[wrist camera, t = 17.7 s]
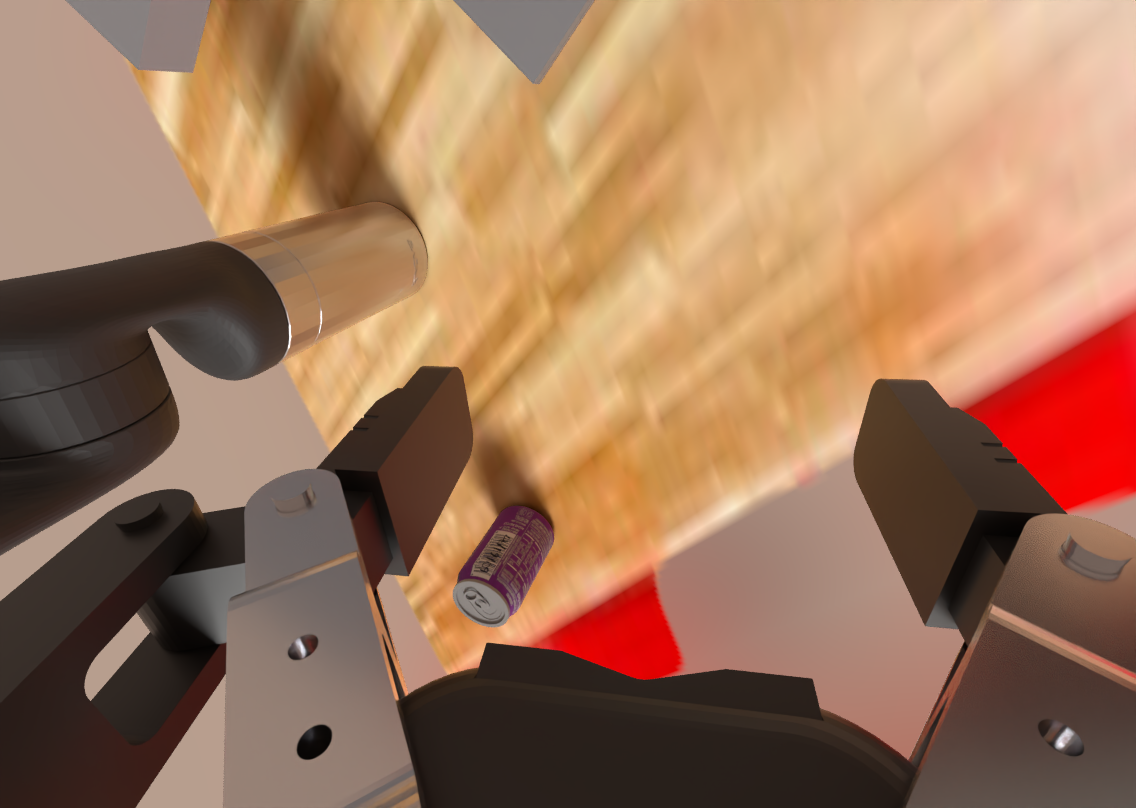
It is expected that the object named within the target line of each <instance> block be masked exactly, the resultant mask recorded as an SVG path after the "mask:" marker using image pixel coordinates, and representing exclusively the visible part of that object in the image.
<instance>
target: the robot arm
mask: <svg viewBox="0 0 1136 808" xmlns="http://www.w3.org/2000/svg"><path fill="white" fill-rule="evenodd" d="M427 269H428V258H427V252H426V247H425V245H424V242H423V239H422V237H421V235H420V233H419V231H418V229H417V228H416V226H415V225H414V224H413V222H412V221H411V220H410V219H409V218H408V217H407V216H406V215H405V214H404V213H403V212H402V211H400V210H399V209H397V208H395V207H394V206H392V205H389V204H386V203H383V202H369V203H364V204H360V205H356V206H351V207H347V208H342V209H338V210H334V211H329V212H325V213H321V214H317V215H312V216H308V217H304V218H300V219H296V220H291V221H287V222H283V223H279V224H275V225H270V226H266V227H262V228H258V229H253V230H249V231H245V232H242V233H238V234H233V235H229V236H225V237H221V238H216V239H212V240H208V241H204V242H199V243H195V244H191V245H187V246H182V247H177V248H172V249H167V250H162V251H156V252H151V253H146V254H141V255H137V256H131V257H127V258H122V259H118V260H113V261H109V262H104V263H99V264H94V265H88V266H83V267H78V268H73V269H67V270H61V271H56V272H49V273H44V274H38V275H32V276H26V277H20V278H14V279H8V280H3V281H0V555H2V554H4V553H5V552H7V551H9V550H11V549H12V548H14V547H16V546H17V545H19V544H21V543H22V542H24V541H26V540H28V539H29V538H31V537H32V536H34V535H36V534H38V533H39V532H41V531H43V530H45V529H46V528H48V527H50V526H52V525H53V524H55V523H57V522H58V521H60V520H62V519H64V518H65V517H67V516H69V515H70V514H72V513H74V512H76V511H77V510H79V509H81V508H82V507H84V506H86V505H88V504H89V503H91V502H92V501H94V500H96V499H98V498H99V497H101V496H103V495H104V494H106V493H108V492H109V491H111V490H112V489H114V488H116V487H118V486H119V485H121V484H122V483H124V482H125V481H127V480H128V479H130V478H131V477H133V476H134V475H136V474H137V473H139V472H140V471H141V470H143V469H144V468H146V467H147V466H148V465H149V464H151V463H152V462H153V461H154V460H155V459H157V458H158V457H159V456H160V455H161V454H163V453H164V451H165V450H166V449H167V448H168V447H169V446H170V445H171V444H172V442H173V441H174V439H175V437H176V435H177V433H178V430H179V415H178V409H177V405H176V402H175V400H174V397H173V394H172V391H171V388H170V386H169V383H168V381H167V378H166V376H165V373H164V371H163V368H162V366H161V363H160V361H159V358H158V356H157V353H156V351H155V348H154V346H153V343H152V341H151V338H150V336H149V333H148V328H150V327H151V326H152V327H153V328H154V329H155V330H156V331H157V332H158V333H159V334H160V335H161V336H162V337H163V338H164V339H165V340H166V342H167V343H168V344H169V345H170V346H171V347H172V348H173V349H174V350H175V351H176V352H177V353H178V354H180V355H181V356H182V357H183V358H184V359H185V360H186V361H188V362H189V363H190V364H192V365H193V366H195V367H196V368H198V369H199V370H201V371H203V372H205V373H207V374H209V375H211V376H214V377H217V378H221V379H226V380H242V379H247V378H250V377H253V376H255V375H258V374H260V373H262V372H263V371H266V370H268V369H269V368H271V367H273V366H275V365H277V364H279V363H281V362H283V361H284V360H286V359H288V358H290V357H292V356H294V355H296V354H298V353H300V352H302V351H304V350H306V349H308V348H309V347H311V346H313V345H315V344H317V343H319V342H321V341H323V340H325V339H327V338H329V337H331V336H333V335H335V334H337V333H339V332H341V331H343V330H345V329H347V328H349V327H351V326H353V325H355V324H357V323H359V322H360V321H362V320H364V319H366V318H368V317H370V316H372V315H374V314H376V313H378V312H380V311H382V310H384V309H386V308H388V307H390V306H392V305H394V304H396V303H398V302H400V301H402V300H404V299H406V298H408V297H410V296H411V295H413V294H414V293H416V292H417V291H418V290H419V289H420V287H421V286H422V284H423V282H424V280H425V278H426V274H427ZM472 444H473V431H472V424H471V418H470V413H469V407H468V401H467V395H466V390H465V384H464V379H463V375H462V372H461V370H460V369H459V368H458V367H439V366H422V367H420V368H419V369H418V371H417V372H416V373H415V374H414V375H413V377H412V378H411V379H410V380H409V381H408V383H407V384H406V385H405V386H404V387H403V388H397V389H395V390H394V391H392V392H390V393H389V394H387V395H385V396H384V397H382V398H380V399H379V400H377V401H376V402H375V403H374V405H373V406H372V407H371V408H370V409H369V410H368V411H367V412H366V413H365V415H364V418H361V419H360V420H359V421H358V422H357V424H356V425H355V426H354V427H353V431H352V430H350V431H349V433H348V434H347V435H346V436H345V437H344V438H343V439H342V440H341V442H340V443H339V444H338V445H337V446H336V447H335V448H334V449H333V450H332V452H331V453H330V454H329V455H328V456H327V457H326V458H325V459H324V461H323V462H322V463H321V464H320V465H319V466H318V467H317V469H305V470H300V471H295V472H292V473H289V474H286V475H283V476H280V477H278V478H276V479H274V480H272V481H270V482H269V483H267V484H265V485H264V486H263V487H261V488H260V489H259V490H258V491H256V492H255V493H254V494H253V496H252V497H251V498H250V499H249V501H248V502H247V504H246V506H245V507H239V508H233V509H226V510H220V511H214V512H208V513H202V512H201V510H200V508H199V506H198V504H197V502H196V501H195V499H194V497H193V496H192V494H190V493H189V492H187V491H184V490H179V489H167V490H159V491H155V492H151V493H148V494H144V495H141V496H139V497H136V498H133V499H131V500H129V501H127V502H124V503H123V504H121V505H119V506H117V507H115V508H114V509H112V510H111V511H109V512H107V513H106V514H105V515H104V516H102V517H101V518H100V519H98V520H97V521H96V522H95V523H94V524H92V525H91V526H90V527H89V528H88V529H87V530H85V531H84V532H83V533H82V534H80V535H79V536H78V537H77V538H76V539H74V540H73V541H72V542H71V543H70V544H68V545H67V546H66V547H65V548H64V549H62V550H61V551H60V552H59V553H58V554H56V556H54V557H53V558H52V559H50V560H49V561H48V562H47V563H46V564H44V565H43V566H42V567H41V568H40V569H39V570H37V571H36V572H35V573H34V574H32V575H31V576H30V577H29V578H28V579H26V580H25V581H24V582H23V583H22V584H20V585H19V586H18V587H17V588H16V589H14V590H13V591H12V592H11V593H10V594H8V595H7V596H6V597H5V598H4V599H2V600H1V601H0V808H136V806H137V804H138V803H139V802H140V800H141V799H142V797H143V796H144V794H145V793H146V791H147V790H148V788H149V787H150V785H151V784H152V782H153V781H154V779H155V778H156V776H157V775H158V773H159V772H160V770H161V769H162V768H163V766H164V765H165V763H166V762H167V760H168V759H169V757H170V756H171V754H172V753H173V751H174V750H175V748H176V747H177V745H178V744H179V742H180V741H181V739H182V738H183V736H184V735H185V733H186V732H187V730H188V729H189V727H190V726H191V724H192V723H193V722H194V720H195V719H196V717H197V716H198V714H199V713H200V711H201V710H202V708H203V707H204V705H205V704H206V702H207V701H208V699H209V698H210V696H211V695H212V693H213V692H214V690H215V689H216V687H217V686H218V685H219V683H220V682H221V680H222V679H223V677H224V675H225V674H226V696H225V697H226V698H225V743H224V745H225V747H224V791H223V808H1136V539H1135V538H1133V537H1131V536H1130V535H1128V534H1126V533H1124V532H1122V531H1120V530H1118V529H1116V528H1113V527H1111V526H1108V525H1106V524H1103V523H1100V522H1097V521H1094V520H1091V519H1087V518H1083V517H1079V516H1074V515H1068V514H1067V513H1066V512H1065V511H1064V510H1063V509H1062V508H1061V507H1060V505H1059V504H1058V503H1057V502H1056V501H1055V500H1054V499H1053V498H1052V497H1051V496H1050V495H1049V493H1048V492H1047V491H1046V490H1045V489H1044V488H1043V487H1042V486H1041V485H1040V484H1039V483H1038V481H1037V480H1036V479H1035V478H1034V477H1033V476H1032V475H1031V474H1030V473H1029V472H1028V471H1027V469H1026V468H1025V467H1024V466H1023V465H1022V464H1021V463H1017V459H1016V457H1015V456H1014V455H1013V454H1012V453H1011V452H1010V451H1009V450H1008V449H1007V448H1006V447H1002V444H1003V443H1002V442H1001V441H1000V440H999V439H998V438H997V437H996V436H995V435H994V433H993V432H992V431H991V430H990V429H989V428H988V427H987V426H986V425H985V424H984V423H982V422H980V421H979V420H977V419H975V418H974V417H972V416H970V415H969V414H967V413H965V412H964V411H962V410H960V409H959V408H950V407H949V405H948V404H947V403H946V402H945V401H944V400H943V398H942V397H941V396H940V395H939V394H938V393H937V391H936V390H935V389H934V388H933V387H932V386H931V384H930V383H929V382H928V381H926V380H905V379H878V380H877V381H876V382H875V383H874V385H873V387H872V389H871V392H870V395H869V399H868V402H867V406H866V410H865V413H864V417H863V421H862V424H861V428H860V431H859V435H858V439H857V442H856V446H855V450H854V472H855V477H856V480H857V483H858V485H859V487H860V489H861V491H862V493H863V495H864V497H865V500H866V501H867V504H868V506H869V508H870V510H871V512H872V514H873V517H874V519H875V521H876V523H877V525H878V527H879V529H880V531H881V534H882V536H883V538H884V540H885V542H886V544H887V546H888V548H889V551H890V553H891V555H892V557H893V559H894V561H895V563H896V565H897V568H898V570H899V572H900V574H901V576H902V578H903V580H904V582H905V584H906V586H907V589H908V591H909V593H910V595H911V597H912V599H913V601H914V604H915V606H916V608H917V610H918V612H919V614H920V616H921V618H922V621H923V623H924V624H925V626H929V627H939V628H951V629H959V631H960V633H961V634H962V637H963V638H964V642H963V644H962V646H961V648H960V650H959V652H958V654H957V656H956V658H955V660H954V662H953V665H952V667H951V669H950V671H949V674H948V676H947V678H946V680H945V682H944V684H943V686H942V689H941V691H940V693H939V695H938V697H937V700H936V702H935V704H934V706H933V708H932V710H931V713H930V715H929V717H928V719H927V721H926V723H925V726H924V728H923V730H922V732H921V734H920V737H919V739H918V741H917V743H916V745H915V747H914V749H913V751H912V753H911V756H910V757H909V759H908V760H907V759H906V758H905V757H903V756H902V755H901V754H900V753H899V752H897V751H896V750H894V749H893V748H892V747H890V746H889V745H888V744H886V743H885V742H883V741H882V740H880V739H879V738H878V737H876V736H875V735H873V734H871V733H870V732H868V731H866V730H864V729H863V728H861V727H859V726H858V725H856V724H854V723H852V722H850V721H848V720H846V719H844V718H842V717H840V716H838V715H836V714H833V713H831V712H829V711H826V710H823V709H821V708H820V707H819V703H818V699H817V695H816V691H815V687H814V683H813V680H812V679H810V678H801V677H792V676H783V675H774V674H765V673H755V672H747V671H737V670H729V669H724V670H717V671H710V672H702V673H695V674H687V675H680V676H672V677H665V678H657V679H650V680H641V679H636V678H632V677H630V676H627V675H624V674H622V673H619V672H616V671H614V670H611V669H608V668H606V667H603V666H600V665H598V664H595V663H592V662H590V661H587V660H584V659H582V658H579V657H576V656H574V655H571V654H568V653H566V652H563V651H558V650H549V649H540V648H531V647H522V646H513V645H504V644H495V643H486V647H485V650H484V653H483V656H482V659H481V662H480V666H479V668H474V669H468V670H464V671H460V672H456V673H453V674H450V675H447V676H444V677H442V678H439V679H437V680H434V681H432V682H430V683H428V684H426V685H424V686H422V687H420V688H418V689H416V690H414V691H413V692H411V693H410V694H409V693H408V690H407V687H406V684H405V681H404V677H403V674H402V671H401V667H400V664H399V660H398V657H397V653H396V650H395V646H394V643H393V640H392V636H391V632H390V629H389V626H388V622H387V619H386V615H385V612H384V609H383V605H382V601H381V598H380V595H379V592H378V589H377V586H378V584H379V582H380V581H381V579H382V577H383V575H384V574H391V575H400V576H409V574H410V572H411V570H412V568H413V567H414V565H415V563H416V561H417V559H418V557H419V555H420V553H421V551H422V549H423V547H424V545H425V543H426V541H427V539H428V537H429V535H430V534H431V532H432V530H433V528H434V526H435V524H436V522H437V520H438V518H439V516H440V514H441V512H442V510H443V508H444V506H445V504H446V502H447V501H448V499H449V497H450V495H451V493H452V491H453V489H454V487H455V485H456V483H457V481H458V479H459V477H460V475H461V473H462V471H463V470H464V468H465V466H466V464H467V462H468V460H469V458H470V455H471V451H472ZM136 612H137V614H138V615H139V617H140V618H141V619H142V621H143V622H144V624H145V625H146V626H147V628H148V629H149V631H150V633H149V634H148V635H147V637H146V638H145V639H144V640H143V641H142V643H140V645H139V646H138V647H137V648H136V649H135V650H134V652H133V653H132V654H131V655H130V656H129V657H128V659H127V660H126V661H125V662H124V663H123V664H122V666H121V667H120V668H119V669H118V670H117V671H116V673H115V674H114V675H113V676H112V677H111V678H110V679H109V681H108V682H107V683H106V684H105V685H104V686H103V688H102V689H101V690H100V691H99V692H98V693H97V695H96V696H95V697H94V698H93V699H92V700H91V701H90V700H89V699H88V698H87V696H86V694H85V689H84V683H85V677H86V674H87V671H88V669H89V667H90V665H91V663H92V662H93V660H94V659H95V657H96V656H97V655H98V654H99V652H100V651H101V650H102V649H103V648H104V647H105V646H106V645H107V644H108V643H109V642H110V641H111V640H112V638H113V637H114V636H115V635H116V634H117V633H118V632H119V631H120V630H121V629H122V627H123V626H124V625H125V624H126V623H127V622H128V621H129V620H130V619H131V618H132V617H133V616H134V615H135V613H136Z"/></svg>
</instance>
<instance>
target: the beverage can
mask: <svg viewBox="0 0 1136 808" xmlns="http://www.w3.org/2000/svg"><path fill="white" fill-rule="evenodd" d="M553 542H554V533H553V530H552V528H551V526H550V524H549V523H548V521H547V520H546V519H545V518H544V517H543V516H542V515H541V514H539V513H538V512H536V511H534V510H532V509H530V508H528V507H524V506H510V507H507V508H505V509H504V510H503V511H502V512H501V513H500V514H499V516H498V517H497V519H496V520H495V521H494V523H493V524H492V526H491V527H490V529H489V530H488V532H487V533H486V534H485V536H484V537H483V539H482V540H481V542H480V543H479V545H478V546H477V547H476V549H475V550H474V552H473V553H472V555H471V556H470V558H469V559H468V560H467V562H466V563H465V565H464V566H463V568H462V569H461V571H460V572H459V575H458V580H457V585H456V586H455V587H454V590H453V599H454V602H455V604H456V605H457V607H458V608H459V610H460V611H461V612H462V613H463V614H464V615H465V616H466V617H468V618H469V619H470V620H472V621H474V622H476V623H478V624H480V625H483V626H487V627H499V626H502V625H504V624H505V623H506V622H507V620H508V618H509V617H510V616H511V615H513V614H514V613H515V612H517V610H518V609H519V607H520V606H521V604H522V602H523V600H524V598H525V596H526V594H527V592H528V590H529V589H530V587H531V585H532V583H533V581H534V579H535V577H536V575H537V573H538V572H539V570H540V568H541V566H542V564H543V562H544V560H545V558H546V556H547V555H548V553H549V551H550V549H551V547H552V545H553Z"/></svg>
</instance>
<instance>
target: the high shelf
mask: <svg viewBox="0 0 1136 808" xmlns="http://www.w3.org/2000/svg"><path fill="white" fill-rule="evenodd" d="M66 1H67V2H68V3H69V4H70V5H71V6H72V7H73V8H74V9H75V10H76V11H77V12H78V13H79V14H81V16H82V17H84V18H85V19H86V20H87V21H88V22H89V23H90V24H91V25H92V26H93V27H94V28H95V29H96V30H97V31H98V32H99V33H100V34H101V35H102V36H103V37H105V38H106V39H107V40H108V41H109V42H110V43H111V44H112V45H113V46H114V47H115V48H116V49H117V50H118V51H119V52H120V53H121V54H122V55H123V56H124V57H126V58H127V59H128V60H129V61H130V62H131V63H132V64H133V65H134V66H135V67H136V68H137V69H138V70H153V71H171V72H190V73H193V70H194V66H195V62H196V58H197V54H198V50H199V46H200V42H201V38H202V34H203V30H204V26H205V22H206V18H207V14H208V10H209V5H210V1H211V0H66ZM454 1H455V2H456V4H457V5H458V6H459V7H460V8H461V9H462V10H463V11H464V12H465V13H466V14H467V15H468V16H469V17H470V18H471V19H472V20H473V21H474V22H475V23H476V24H477V25H478V26H479V28H480V29H481V30H482V31H483V32H484V33H485V34H486V35H487V36H488V37H489V38H490V39H491V40H492V41H493V42H494V43H495V44H496V45H497V46H498V47H499V48H500V49H501V51H502V52H503V53H504V54H505V55H506V56H507V57H508V58H509V59H510V60H511V61H512V62H513V63H514V64H515V65H516V66H517V67H518V68H519V69H520V70H521V71H522V72H523V74H524V75H525V76H526V77H527V78H528V79H529V80H530V81H531V82H532V83H533V84H540V82H541V81H542V79H543V78H544V76H545V75H546V73H547V72H548V70H549V69H550V67H551V66H552V64H553V63H554V61H555V60H556V58H557V57H558V55H559V54H560V52H561V50H562V49H563V47H564V46H565V44H566V43H567V41H568V40H569V38H570V37H571V35H572V34H573V32H574V31H575V29H576V28H577V26H578V25H579V23H580V22H581V20H582V19H583V17H584V16H585V14H586V13H587V11H588V10H589V8H590V6H591V5H592V3H593V2H594V0H454Z"/></svg>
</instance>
